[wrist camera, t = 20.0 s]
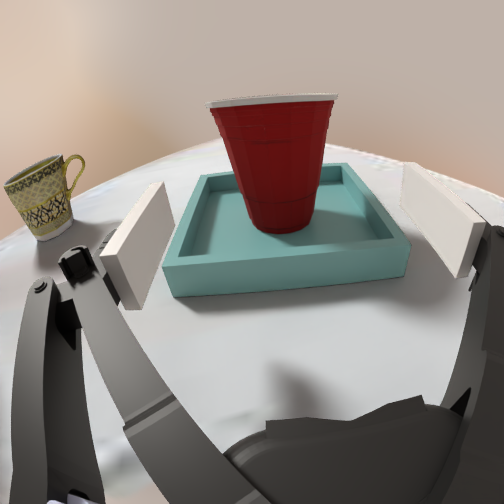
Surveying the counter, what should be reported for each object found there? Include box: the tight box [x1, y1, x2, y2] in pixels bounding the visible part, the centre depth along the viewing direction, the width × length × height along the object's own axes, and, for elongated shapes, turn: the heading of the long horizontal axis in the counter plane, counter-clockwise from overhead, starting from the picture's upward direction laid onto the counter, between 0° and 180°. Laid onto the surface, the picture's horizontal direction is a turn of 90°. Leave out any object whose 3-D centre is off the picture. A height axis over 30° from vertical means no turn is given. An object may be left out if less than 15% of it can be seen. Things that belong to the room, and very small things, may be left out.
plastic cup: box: [205, 94, 338, 234], centre depth 25 cm, size 11×11×12 cm
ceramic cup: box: [4, 154, 85, 241], centre depth 34 cm, size 13×10×10 cm
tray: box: [162, 163, 411, 297], centre depth 28 cm, size 18×18×3 cm
